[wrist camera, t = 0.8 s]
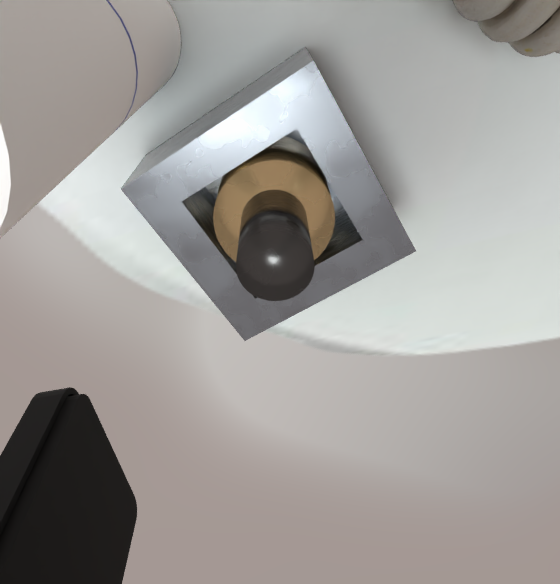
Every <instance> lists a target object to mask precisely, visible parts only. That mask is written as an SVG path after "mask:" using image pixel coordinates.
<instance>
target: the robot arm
mask: <svg viewBox="0 0 560 584" xmlns="http://www.w3.org/2000/svg"><path fill="white" fill-rule="evenodd" d="M136 517H137V504H136V500H135V496H134V494H133V492H132V490H131V487H130V485H129V483H128V481H127V479H126V477H125V475H124V472H123V470H122V468H121V466H120V464H119V462H118V459H117V457H116V455H115V453H114V451H113V449H112V446H111V444H110V442H109V440H108V438H107V436H106V433H105V431H104V429H103V427H102V425H101V423H100V421H99V418H98V416H97V414H96V412H95V410H94V408H93V405H92V403H91V401H90V399H89V397H88V396H87V395H85V394H80V395H79V394H78V392H77V391H76V390H75V389H74V388H64V389H59V390H53V391H48V392H41V393H38V394H36V395H35V396H34V397H33V399H32V400H31V402H30V404H29V406H28V407H27V409H26V411H25V413H24V414H23V416H22V418H21V420H20V422H19V423H18V425H17V427H16V429H15V431H14V432H13V434H12V436H11V438H10V439H9V441H8V443H7V445H6V447H5V449H4V451H3V452H2V454H1V455H0V584H122V580H123V576H124V571H125V567H126V563H127V558H128V553H129V549H130V545H131V540H132V536H133V532H134V527H135V523H136Z"/></svg>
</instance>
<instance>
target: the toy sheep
mask: <svg viewBox="0 0 560 584" xmlns="http://www.w3.org/2000/svg"><path fill="white" fill-rule="evenodd" d="M453 2H454V5H455V7H456V8H457V10H458V12H459V13H460V14H461V15H462V16H463V17H465V18H466V19H468V20H472V21H478V24H479V26H480V28H481V30H482V32H483V33H484V34H485V35H486V36H487V37H489V38H490V39H491V40H493V41H496V42H509V43H510V45H511V46H512V47H513V48H514V49H515V50H516V51H517V52H519V53H520V54H522V55H525V56H530V57H539V56H544V55H547V54H550V53H553V52H556V53H559V54H560V0H453Z"/></svg>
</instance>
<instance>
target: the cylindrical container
mask: <svg viewBox="0 0 560 584" xmlns="http://www.w3.org/2000/svg"><path fill="white" fill-rule="evenodd" d="M180 53H181V33H180V29H179V25H178V20H177V18H176V16H175V13H174V11H173V9H172V7H171V5H170V4H169V2H168V1H167V0H0V238H1V237H3V236H4V235H5V234H6V233H7V232H8V231H9V230H10V229H11V228H12V227H13V226H14V225H15V224H16V223H17V222H18V221H20V220H21V218H23V217H24V216H25V215H26V214H27V213H28V212H29V211H30V210H31V209H32V208H33V207H34V206H35V205H37V204H38V203H39V202H40V201H41V200H42V199H43V198H44V197H45V196H46V195H47V194H48V193H49V192H50V191H51V190H53V189H54V188H55V187H56V186H57V185H58V184H59V183H60V182H61V181H62V180H63V179H64V178H65V177H66V176H67V175H68V174H70V173H71V172H72V171H73V170H74V169H75V168H76V167H77V166H78V165H79V164H80V163H81V162H82V161H84V160H85V159H86V158H87V157H88V156H89V155H90V154H91V153H92V152H93V151H94V150H95V149H96V148H98V147H99V146H100V145H101V144H102V143H103V142H104V141H105V140H106V139H107V138H108V137H109V136H110V135H112V134H113V133H114V132H115V131H116V130H117V129H118V128H119V127H120V126H121V125H122V124H123V123H124V122H125V121H126V120H127V119H129V118H130V117H131V116H132V115H133V114H134V113H135V112H136V111H137V110H138V109H139V108H140V107H141V106H142V105H143V104H144V103H146V102H147V101H148V100H149V99H150V98H151V97H152V96H153V95H154V94H155V93H156V92H157V91H158V90H160V89H161V88H162V87H163V86H164V85H165V84H166V83H167V81H168V80H169V79H170V78H171V77H172V75H173V73H174V71H175V69H176V67H177V65H178V61H179V58H180Z"/></svg>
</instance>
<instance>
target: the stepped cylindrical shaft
mask: <svg viewBox="0 0 560 584" xmlns="http://www.w3.org/2000/svg"><path fill="white" fill-rule="evenodd" d="M213 224H214V230H215V233H216V236H217V239H218V241H219V243H220V245H221V246H222V248H223V249H224V251H225V252H226V253H227V254H228V255H229V257H231V258H232V259H233V260H234V261H235V262H236V273H237V277H238V279H239V281H240V283H241V284H242V286H243V287H244V288H245V289H246V290H247V291H248V292H249V293H250V294H252V295H254V296H255V297H257V298H260V299H263V300H268V301H282V300H287V299H290V298H292V297H295V296H296V295H298V294H300V293H301V292H302V291H303V290H304V289H305V288H306V287H307V286H308V285H309V283H310V282H311V280H312V277H313V274H314V268H315V264H314V260H315V259H316V258H317V257H318V256H319V255H320V254H321V253H322V252H323V251H324V249H325V248H326V247H327V245H328V243H329V241H330V239H331V236H332V234H333V230H334V225H335V210H334V205H333V201H332V198H331V195H330V191H329V188H328V184H327V181H326V178H325V175H324V173H323V172H322V170H321V168H320V167H319V165H318V163H317V161H316V160H315V158H314V156H313V155H312V153H311V151H310V150H309V148H307V147H306V146H305V145H303V144H302V143H300V142H299V141H296V140H294V139H292V138H289V137H285V136H284V137H283V138H281V139H279V140H278V141H276V142H275V143H273V144H272V145H270V146H268V147H267V148H265V149H264V150H262V151H260V152H259V153H257V154H256V155H254V156H253V157H251V158H249V159H248V160H246V161H245V162H243V163H242V164H240V165H238V166H237V167H235V168H234V169H232V170H230V171H229V172H227V173H226V174H224V175H223V176H222V178H221V182H220V186H219V190H218V194H217V198H216V202H215V206H214V212H213Z"/></svg>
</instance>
